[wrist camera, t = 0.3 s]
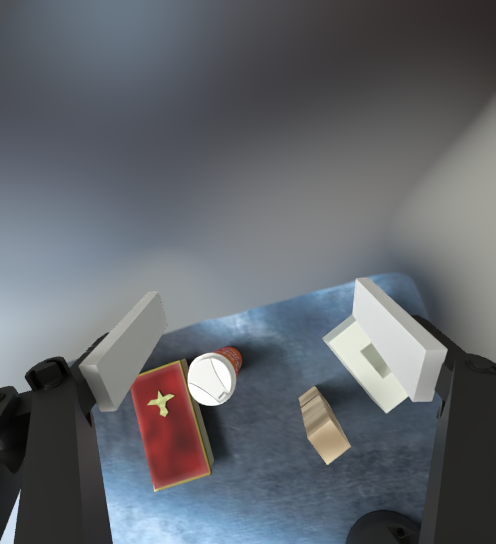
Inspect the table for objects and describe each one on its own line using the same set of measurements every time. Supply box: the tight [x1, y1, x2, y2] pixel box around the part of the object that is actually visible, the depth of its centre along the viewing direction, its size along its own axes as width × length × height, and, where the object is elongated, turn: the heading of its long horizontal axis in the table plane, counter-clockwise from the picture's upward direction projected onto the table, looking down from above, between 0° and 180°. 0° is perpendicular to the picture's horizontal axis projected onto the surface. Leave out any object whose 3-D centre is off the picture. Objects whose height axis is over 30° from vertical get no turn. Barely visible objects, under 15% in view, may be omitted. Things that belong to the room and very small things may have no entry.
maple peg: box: [299, 386, 351, 465], centre depth 38 cm, size 4×4×14 cm
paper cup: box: [188, 347, 242, 406], centre depth 41 cm, size 8×8×14 cm
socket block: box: [322, 315, 408, 414], centre depth 42 cm, size 14×12×6 cm
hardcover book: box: [130, 359, 214, 492], centre depth 46 cm, size 12×21×4 cm, turn 20°
